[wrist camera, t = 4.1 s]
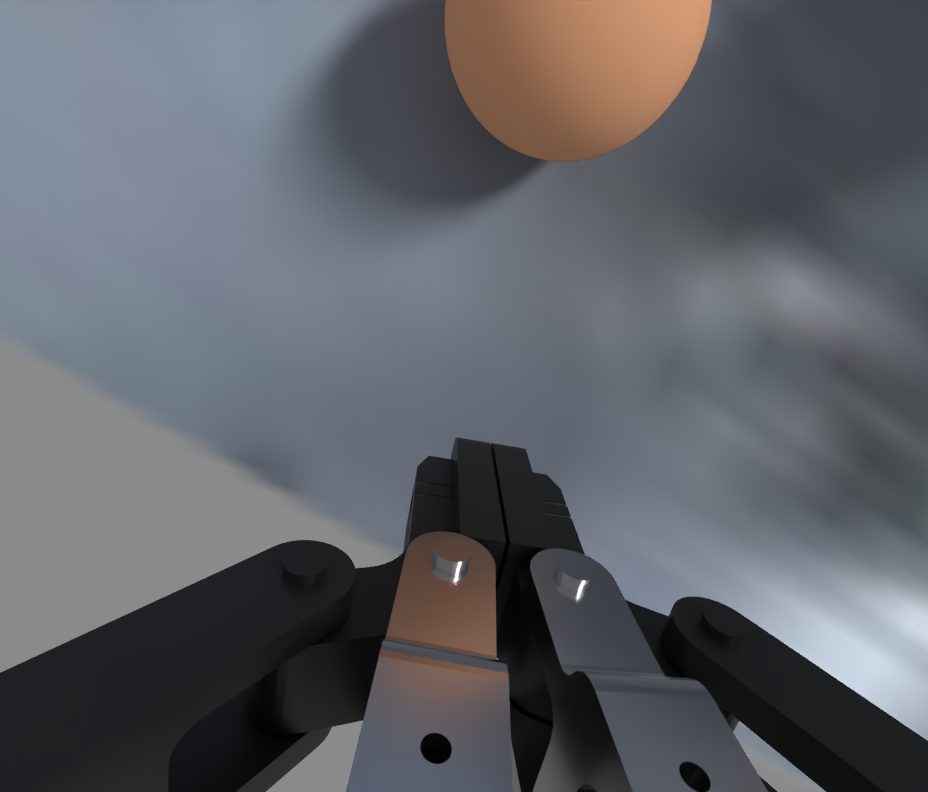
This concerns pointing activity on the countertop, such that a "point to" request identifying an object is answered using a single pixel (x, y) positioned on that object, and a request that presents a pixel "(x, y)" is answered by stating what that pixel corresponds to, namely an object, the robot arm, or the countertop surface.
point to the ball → (572, 68)
